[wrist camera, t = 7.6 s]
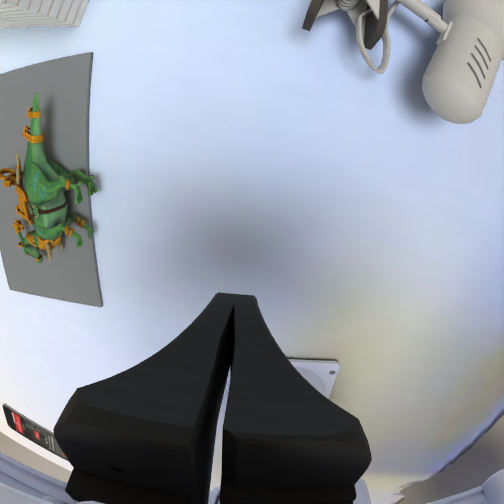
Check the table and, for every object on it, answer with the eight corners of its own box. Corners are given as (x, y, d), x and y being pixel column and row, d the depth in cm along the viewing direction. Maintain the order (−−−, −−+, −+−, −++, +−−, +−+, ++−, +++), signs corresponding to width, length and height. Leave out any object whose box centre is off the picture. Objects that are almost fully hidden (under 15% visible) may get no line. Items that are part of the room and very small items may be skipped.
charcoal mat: (103, 305, 23) (101, 307, 22) (11, 287, 23) (9, 289, 22) (93, 52, 15) (90, 52, 15) (-9, 78, 15) (-12, 78, 15)
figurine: (98, 267, 21) (17, 241, 21) (110, 94, 16) (17, 90, 16) (77, 290, 19) (-6, 259, 18) (83, 96, 13) (-13, 94, 13)
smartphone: (1, 403, 31) (92, 455, 33) (3, 400, 31) (94, 451, 33) (8, 426, 33) (90, 471, 35) (10, 423, 34) (91, 468, 36)
